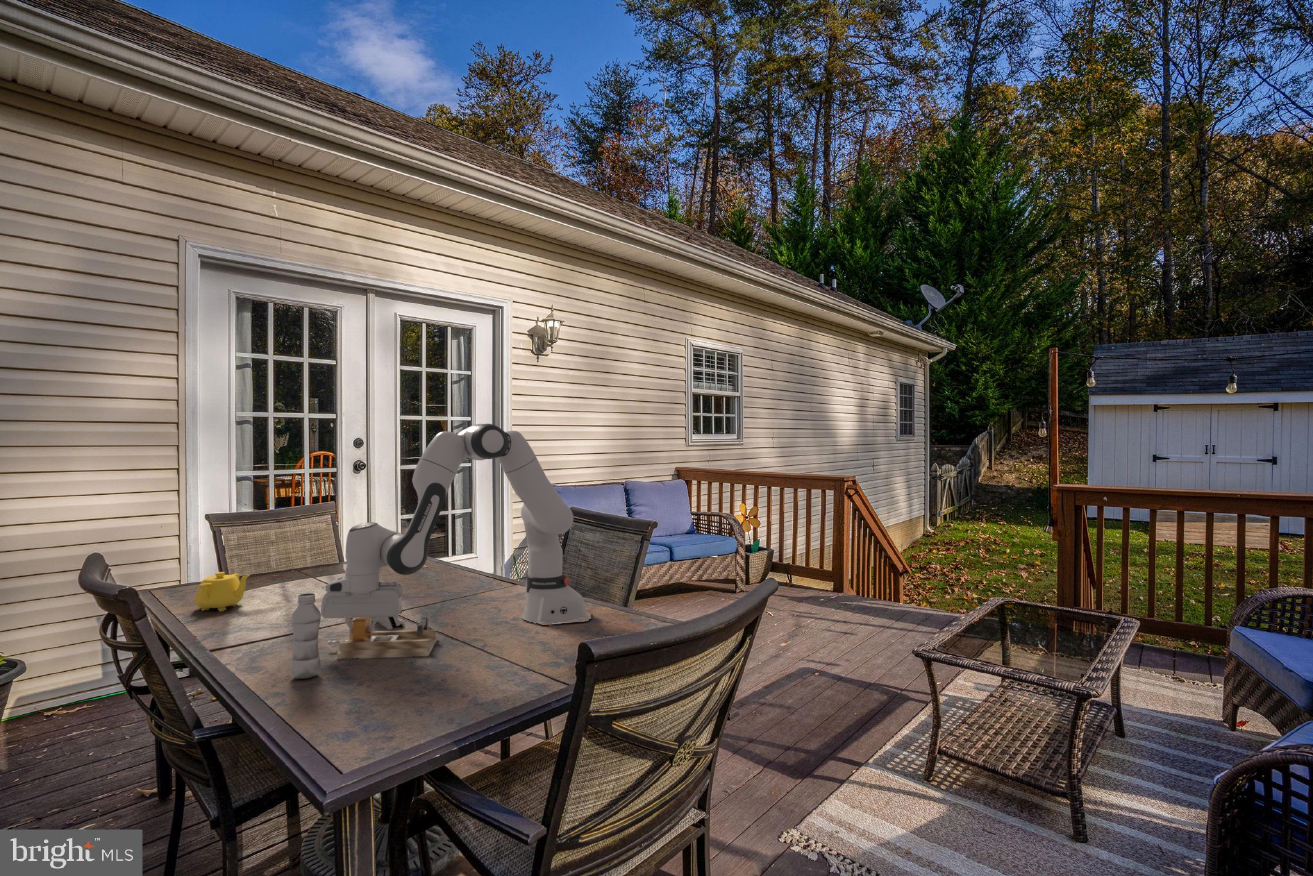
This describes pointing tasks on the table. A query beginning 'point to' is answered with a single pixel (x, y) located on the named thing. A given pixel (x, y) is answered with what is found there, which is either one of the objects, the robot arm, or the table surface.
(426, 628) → the keeper hook
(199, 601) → the teapot
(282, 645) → the table surface
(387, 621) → the grey rounded slab
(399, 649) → the guide board
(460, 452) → the robot arm
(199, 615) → the table surface
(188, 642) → the table surface
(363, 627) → the chain end link
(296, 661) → the plastic bottle
